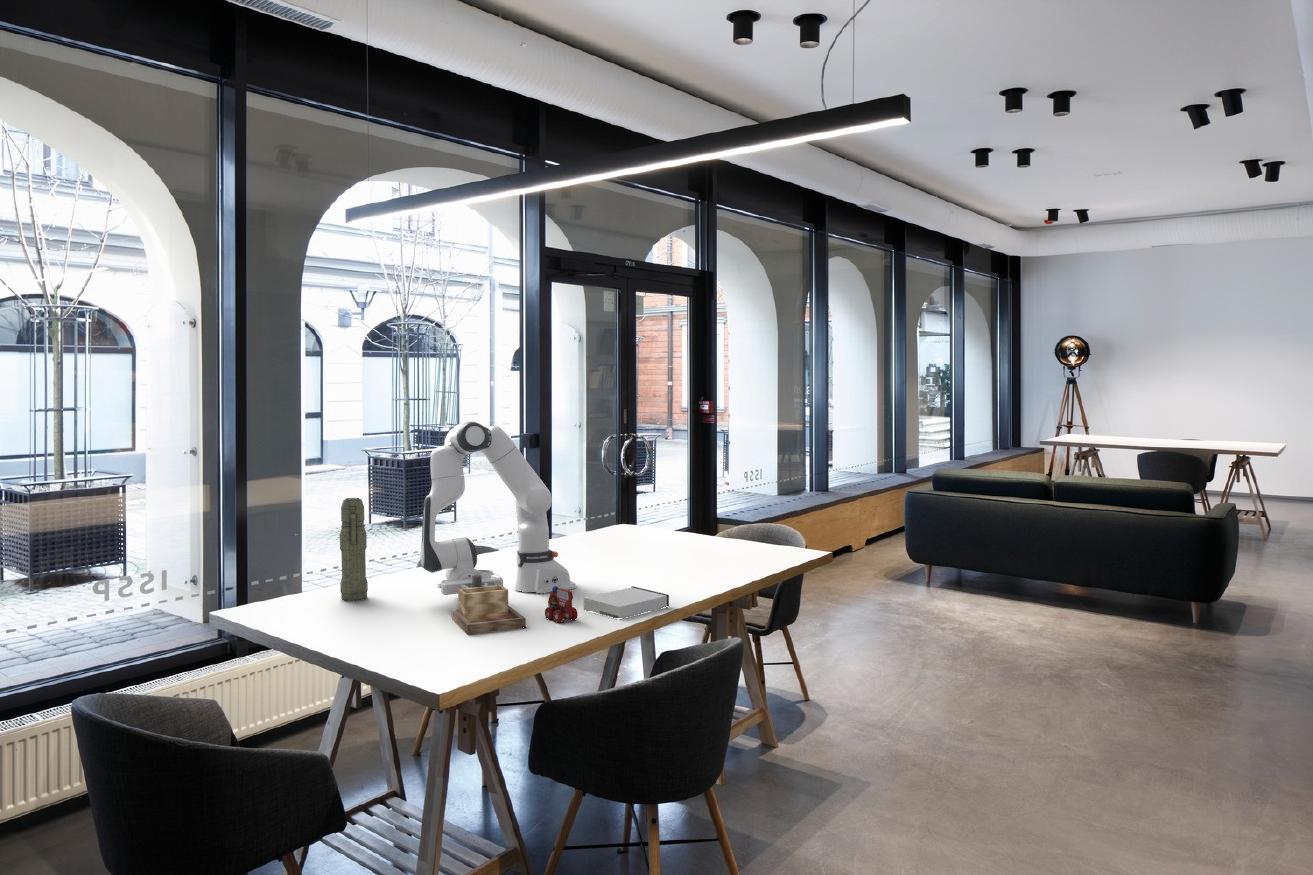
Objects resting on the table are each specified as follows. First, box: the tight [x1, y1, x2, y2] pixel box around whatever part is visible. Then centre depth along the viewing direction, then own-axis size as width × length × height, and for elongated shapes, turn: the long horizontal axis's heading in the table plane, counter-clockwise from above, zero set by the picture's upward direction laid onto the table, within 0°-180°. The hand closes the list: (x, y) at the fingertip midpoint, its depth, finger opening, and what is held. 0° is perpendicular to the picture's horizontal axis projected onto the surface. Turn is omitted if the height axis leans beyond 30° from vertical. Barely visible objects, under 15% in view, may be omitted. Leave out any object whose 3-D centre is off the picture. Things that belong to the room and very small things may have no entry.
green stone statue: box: [339, 497, 369, 602], centre depth 312 cm, size 9×12×35 cm
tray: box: [451, 604, 527, 636], centre depth 279 cm, size 18×19×3 cm
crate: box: [457, 575, 509, 620], centre depth 287 cm, size 14×13×11 cm
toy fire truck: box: [544, 586, 579, 624], centre depth 284 cm, size 7×12×10 cm, turn 38°
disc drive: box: [583, 585, 670, 619], centre depth 298 cm, size 18×22×5 cm
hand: (477, 589), depth 290 cm, fingers open, 4 cm apart
